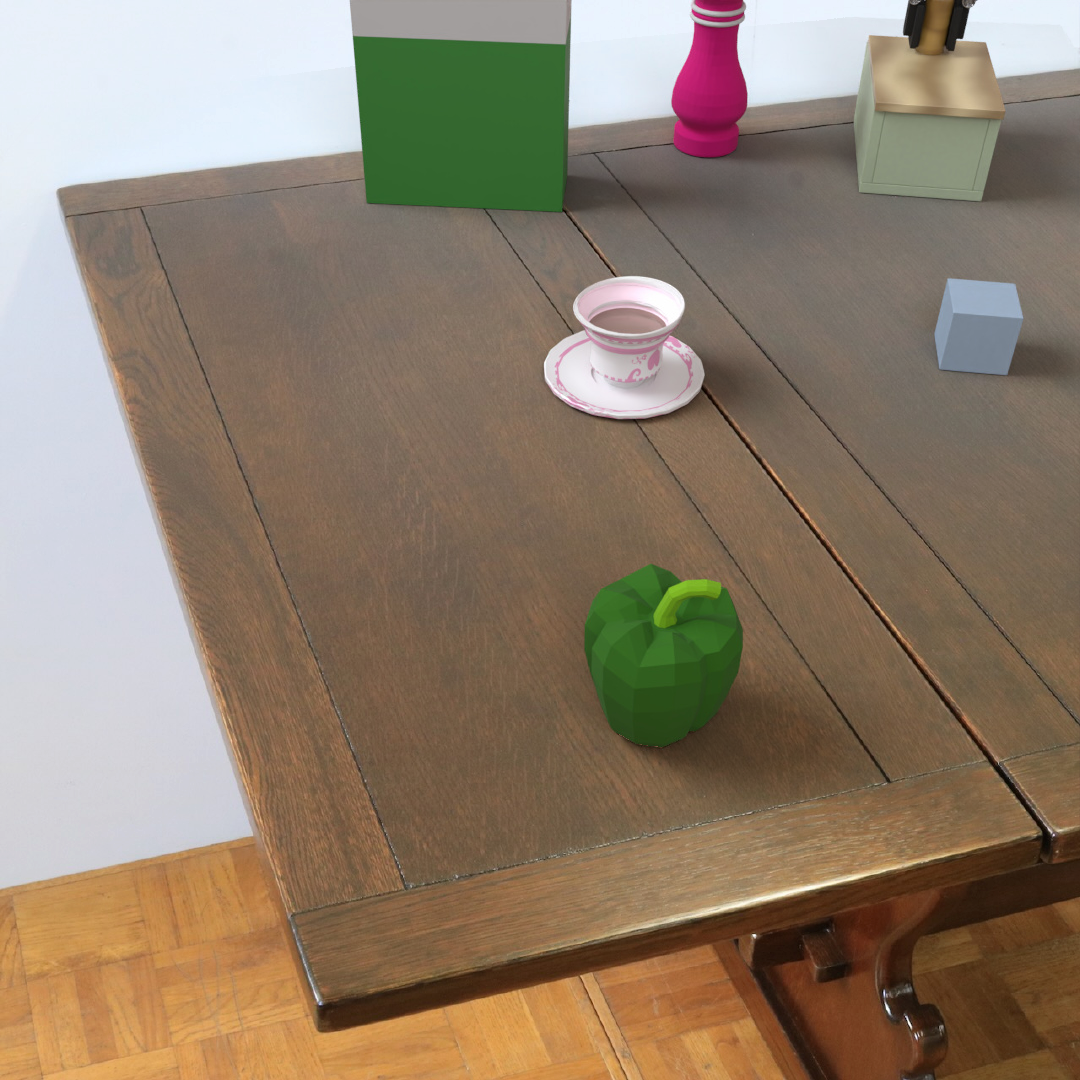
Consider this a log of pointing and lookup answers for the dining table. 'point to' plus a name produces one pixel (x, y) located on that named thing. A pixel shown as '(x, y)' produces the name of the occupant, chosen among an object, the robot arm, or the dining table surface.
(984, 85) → the wooden box lid
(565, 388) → the teacup
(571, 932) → the dining table surface
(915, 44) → the robot arm
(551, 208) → the hardback book
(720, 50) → the pepper mill
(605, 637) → the bell pepper
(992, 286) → the block
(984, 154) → the box
